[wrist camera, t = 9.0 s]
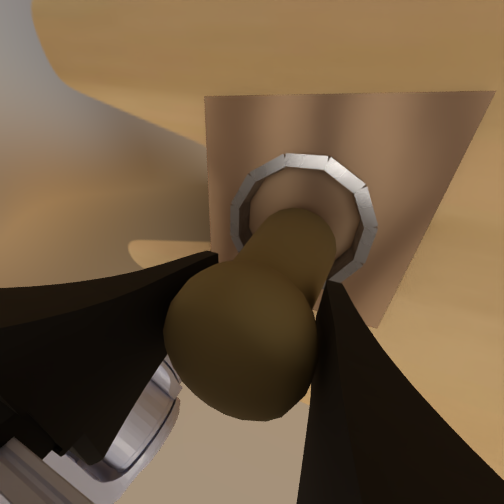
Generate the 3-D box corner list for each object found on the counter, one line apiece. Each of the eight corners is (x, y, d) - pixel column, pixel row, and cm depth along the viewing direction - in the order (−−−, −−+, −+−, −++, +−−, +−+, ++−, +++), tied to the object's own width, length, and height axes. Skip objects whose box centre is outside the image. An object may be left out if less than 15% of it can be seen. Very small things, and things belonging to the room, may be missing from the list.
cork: (270, 289, 17) (182, 436, 7) (244, 222, 16) (100, 296, 6) (346, 277, 14) (362, 490, 5) (322, 194, 13) (279, 253, 3)
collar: (240, 261, 21) (229, 273, 19) (244, 149, 16) (230, 149, 14) (347, 288, 18) (348, 305, 16) (392, 160, 13) (403, 161, 11)
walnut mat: (215, 278, 25) (212, 280, 24) (208, 98, 16) (204, 96, 16) (376, 324, 19) (377, 328, 19) (489, 93, 11) (495, 91, 11)
